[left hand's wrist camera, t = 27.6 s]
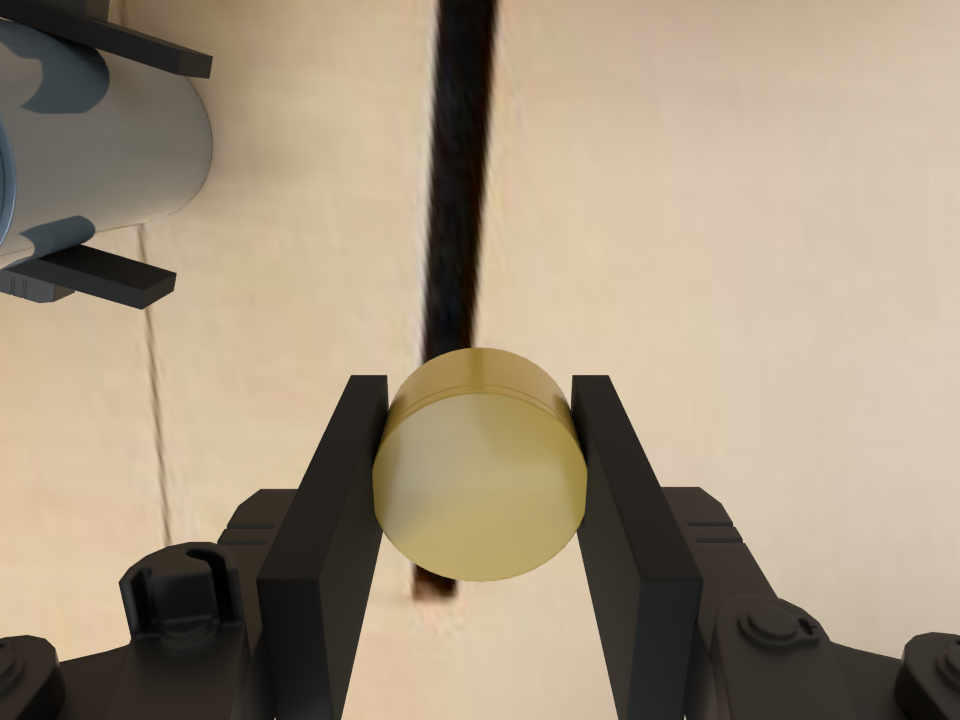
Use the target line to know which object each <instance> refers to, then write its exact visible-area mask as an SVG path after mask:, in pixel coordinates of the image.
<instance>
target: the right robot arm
mask: <svg viewBox="0 0 960 720" xmlns="http://www.w3.org/2000/svg"><path fill="white" fill-rule="evenodd" d="M109 1H110V0H0V17H2V18H5V19H8V20H11V21H14V22H18V23H20V24H23V25H26V26H29V27H32V28H35V29H38V30H41V31H45V32H48V33H51V34H54V35H57V36H60V37H63V38H66V39H69V40H72V41H75V42H78V43H81V44H84V45H87V46H90V47H93V48H96V49H99V50H102V51H105V52H108V53H112V54H115V55H118V56H121V57H124V58H127V59H130V60H133V61H136V62H139V63H142V64H145V65H148V66H151V67H154V68H157V69H160V70H163V71H166V72H169V73H172V74H175V75H181V76H190V77H199V78H208V79H209V77H210V71H211V65H212V59H213V57H212V56H209V55H206V54H203V53H200V52H197V51H194V50H191V49H188V48H185V47H182V46H179V45H176V44H173V43H170V42H167V41H164V40H161V39H158V38H155V37H152V36H149V35H146V34H143V33H140V32H137V31H134V30H131V29H128V28H125V27H122V26H119V25H116V24H113V23H110V22H107V18H108V9H109ZM176 274H177V273H175V272H171V271H168V270H165V269H161V268H158V267H155V266H151V265H148V264H145V263H141V262H138V261H135V260H131V259H128V258H125V257H121V256H118V255H115V254H111V253H108V252H104V251H101V250H98V249H94V248H91V247H88V246H84V245H81V244H79V245H76V246H73V247H70V248H67V249H64V250H61V251H58V252H55V253H52V254H49V255H46V256H43V257H40V258H37V259H34V260H31V261H28V262H25V263H22V264H19V265H16V266H13V267H10V268H7V269H4V270H1V271H0V292H3V293H6V294H12V295H13V296H17V297H20V298H24V299H27V300H31V301H34V302H38V303H45V302H54V301H57V300H59V299H61V298H63V297H66V296H68V295H70V294H72V293H75V290H76V291H79V292H83V293H86V294H90V295H93V296H96V297H100V298H103V299H107V300H110V301H113V302H117V303H120V304H124V305H127V306H131V307H134V308H137V309H141V310H142V309H144V308H145V307H147V306H149V305H151V304H152V303H154V302H156V301H157V300H159V299H161V298H162V297H164V296H166V295H167V294H169V293H171V292H173V291H174V286H175V280H176Z"/></svg>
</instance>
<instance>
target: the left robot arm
mask: <svg viewBox="0 0 960 720" xmlns="http://www.w3.org/2000/svg"><path fill="white" fill-rule="evenodd" d="M388 412H389V403H388V384H387V375H351V377H350V379H349V381H348V383H347V385H346V387H345V389H344V392H343V394H342V396H341V398H340V400H339V402H338V404H337V406H336V409H335V411H334V413H333V415H332V417H331V419H330V421H329V424H328V426H327V428H326V430H325V432H324V434H323V436H322V439H321V441H320V443H319V445H318V447H317V449H316V451H315V454H314V456H313V458H312V460H311V462H310V464H309V466H308V469H307V471H306V473H305V475H304V477H303V479H302V481H301V484H300V486H299V488H298V489H260V490H259V491H257V492H256V493H255V494H253V495H252V496H251V497H249V498H248V499H247V500H245V501H244V502H243V503H241V504H240V505H239V506H238V507H237V509H236V511H235V512H234V514H233V516H232V518H231V519H230V521H229V523H228V524H227V529H224V531H223V533H222V534H221V536H220V538H219V539H218V541H217V544H215V543H212V542H187V543H182V544H178V545H173V546H168V547H166V548H163V549H161V550H159V551H156V552H154V553H152V554H149V555H147V556H145V557H144V558H143V559H141V560H140V561H138V562H137V563H136V564H134V565H133V566H131V567H130V568H129V569H128V570H127V572H126V573H125V574H124V576H123V577H122V578H121V580H120V581H119V586H120V591H121V595H122V599H123V604H124V608H125V613H126V617H127V621H128V626H129V630H130V634H131V641H130V643H129V644H128V645H126V646H123V647H119V648H116V649H113V650H110V651H106V652H102V653H97V654H93V655H89V656H85V657H80V658H76V659H72V660H67V661H63V662H59V660H58V657H57V653H56V649H55V648H54V647H53V646H52V645H51V644H50V643H49V642H48V641H47V640H46V639H44V638H39V637H35V636H30V635H23V636H14V637H4V638H1V639H0V720H274V719H275V718H276V720H341V717H342V713H343V708H344V704H345V700H346V695H347V691H348V686H349V682H350V677H351V673H352V668H353V664H354V659H355V655H356V650H357V646H358V641H359V637H360V632H361V628H362V623H363V619H364V615H365V610H366V606H367V601H368V597H369V592H370V588H371V583H372V579H373V574H374V570H375V565H376V561H377V556H378V552H379V547H380V543H381V539H382V534H383V530H382V528H381V526H380V524H379V522H378V520H377V518H376V515H375V509H374V494H373V478H372V467H373V463H374V460H375V456H376V453H377V450H378V446H379V443H380V439H381V436H382V432H383V429H384V426H385V422H386V419H387V415H388ZM571 413H572V417H573V420H574V423H575V427H576V430H577V434H578V437H579V440H580V444H581V447H582V451H583V454H584V458H585V461H586V464H587V487H586V502H585V514H584V517H583V519H582V521H581V523H580V526H579V527H578V529H577V536H578V540H579V545H580V549H581V554H582V558H583V563H584V567H585V572H586V576H587V581H588V585H589V590H590V594H591V599H592V603H593V608H594V612H595V616H596V621H597V625H598V630H599V634H600V639H601V643H602V648H603V652H604V657H605V661H606V666H607V670H608V675H609V679H610V684H611V688H612V693H613V697H614V701H615V706H616V710H617V715H618V719H619V720H684V715H685V717H686V720H960V636H959V635H956V634H946V633H936V632H931V633H926V634H921V635H916V636H914V637H913V638H912V639H911V640H910V641H909V642H908V643H907V644H906V645H905V647H904V651H903V655H902V658H901V659H896V658H892V657H888V656H883V655H879V654H875V653H870V652H866V651H862V650H857V649H853V648H850V647H846V646H843V645H840V644H836V643H834V642H831V641H830V640H829V637H828V636H827V634H826V633H825V631H824V629H823V628H822V626H821V625H820V623H819V622H818V621H817V620H815V619H814V618H813V617H812V616H811V615H809V614H808V613H807V612H806V611H804V610H803V609H802V608H799V607H797V606H795V605H793V604H791V603H789V602H787V601H785V600H783V599H779V598H778V597H777V596H776V594H775V592H774V591H773V589H772V587H771V586H770V584H769V582H768V581H767V579H766V577H765V576H764V574H763V572H762V571H761V569H760V567H759V566H758V564H757V562H756V561H755V559H754V557H753V556H752V554H751V552H750V551H749V549H748V547H747V546H746V544H745V543H743V539H742V537H741V536H740V534H739V532H738V531H737V529H736V527H733V522H732V521H731V519H730V517H729V516H728V514H727V512H726V511H725V509H724V507H723V505H722V504H721V503H720V502H719V501H717V500H716V499H715V498H713V497H712V496H711V495H709V494H708V493H707V492H705V491H704V490H703V489H701V488H700V487H660V485H659V482H658V480H657V478H656V476H655V474H654V472H653V470H652V467H651V465H650V463H649V461H648V459H647V457H646V455H645V452H644V450H643V448H642V446H641V444H640V442H639V440H638V437H637V435H636V433H635V431H634V429H633V427H632V425H631V422H630V420H629V418H628V416H627V414H626V412H625V410H624V407H623V405H622V403H621V401H620V399H619V397H618V395H617V392H616V390H615V388H614V386H613V384H612V382H611V380H610V377H609V375H573V376H572V395H571Z"/></svg>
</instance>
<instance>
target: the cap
mask: <svg viewBox="0 0 960 720" xmlns="http://www.w3.org/2000/svg"><path fill="white" fill-rule="evenodd" d="M372 478H373V494H374V509H375V515H376V518H377V520H378V522H379V524H380V526H381V528H382V530H383V532H384V533H385V535H386V536H387V538H388V539H389V540H390V541H391V543H392V544H393V545H394V546H395V547H396V548H397V549H398V550H399V551H400V552H401V553H402V554H403V555H404V556H406V557H407V558H408V559H410V560H411V561H413V562H414V563H416V564H417V565H419V566H421V567H422V568H424V569H426V570H428V571H430V572H433V573H436V574H438V575H441V576H444V577H448V578H452V579H456V580H463V581H475V582H485V581H497V580H502V579H508V578H512V577H515V576H518V575H522V574H524V573H526V572H529V571H531V570H533V569H535V568H537V567H539V566H541V565H542V564H544V563H546V562H547V561H548V560H550V559H551V558H553V557H554V556H555V555H556V554H557V553H558V552H560V551H561V550H562V549H563V548H564V547H565V546H566V544H567V543H568V542H569V541H570V540H571V538H572V537H573V536H574V534H575V532H576V531H577V529H578V527H579V526H580V523H581V521H582V519H583V517H584V514H585V502H586V487H587V464H586V461H585V458H584V454H583V451H582V447H581V444H580V440H579V437H578V434H577V430H576V427H575V423H574V420H573V417H572V413H571V410H570V407H569V404H568V402H567V400H566V398H565V396H564V394H563V392H562V390H561V389H560V388H559V386H558V385H557V383H556V382H555V381H554V380H553V379H552V378H551V377H550V376H549V375H548V374H547V373H546V372H545V371H544V370H543V369H541V368H540V367H539V366H537V365H536V364H534V363H533V362H531V361H529V360H528V359H526V358H523V357H521V356H519V355H517V354H514V353H510V352H507V351H504V350H498V349H492V348H468V349H462V350H457V351H452V352H449V353H446V354H443V355H440V356H438V357H436V358H434V359H432V360H430V361H428V362H427V363H425V364H424V365H422V366H421V367H419V368H418V369H417V370H416V371H415V372H413V373H412V374H411V375H410V376H409V377H408V378H407V379H406V381H405V382H404V383H403V384H402V385H401V387H400V388H399V390H398V391H397V393H396V394H395V397H394V399H393V401H392V403H391V405H390V409H389V412H388V415H387V419H386V422H385V426H384V429H383V432H382V436H381V439H380V443H379V446H378V450H377V453H376V456H375V460H374V463H373V467H372Z"/></svg>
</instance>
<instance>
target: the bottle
mask: <svg viewBox="0 0 960 720" xmlns="http://www.w3.org/2000/svg"><path fill="white" fill-rule="evenodd" d="M211 156H212V135H211V129H210V124H209V120H208V117H207V114H206V111H205V108H204V106H203V104H202V102H201V100H200V98H199V96H198V94H197V93H196V91H195V89H194V88H193V86H192V85H191V84H190V82H189V81H188V80H187V79H186V77H185V76H181V75H175V74H172V73H169V72H166V71H163V70H160V69H157V68H154V67H151V66H148V65H145V64H142V63H139V62H136V61H133V60H130V59H127V58H124V57H121V56H118V55H115V54H112V53H108V52H105V51H102V50H99V49H96V48H93V47H90V46H87V45H84V44H81V43H78V42H75V41H72V40H69V39H66V38H63V37H60V36H57V35H54V34H51V33H48V32H45V31H41V30H38V29H35V28H32V27H29V26H26V25H23V24H20V23H18V22H14V21H11V20H6V19H1V18H0V271H1V270H4V269H7V268H10V267H13V266H16V265H19V264H22V263H25V262H28V261H31V260H34V259H37V258H40V257H43V256H46V255H49V254H52V253H55V252H58V251H61V250H64V249H67V248H70V247H73V246H76V245H79V244H82V243H85V242H88V241H91V240H94V239H97V238H100V237H103V236H106V235H109V234H112V233H115V232H118V231H121V230H124V229H127V228H130V227H132V226H135V225H138V224H141V223H144V222H147V221H150V220H153V219H156V218H159V217H162V216H165V215H168V214H171V213H173V212H175V211H177V210H178V209H180V208H181V207H183V206H184V205H186V204H187V203H188V202H189V201H190V200H191V199H192V198H193V197H194V196H195V195H196V193H197V192H198V191H199V189H200V188H201V186H202V184H203V182H204V181H205V179H206V176H207V173H208V170H209V167H210V162H211Z"/></svg>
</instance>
